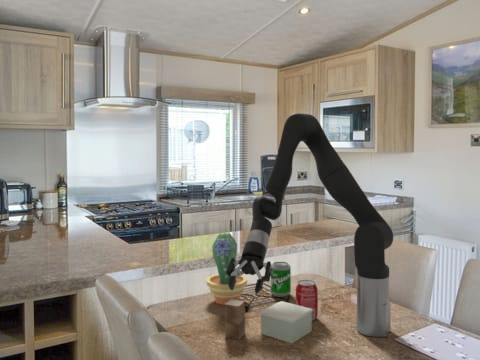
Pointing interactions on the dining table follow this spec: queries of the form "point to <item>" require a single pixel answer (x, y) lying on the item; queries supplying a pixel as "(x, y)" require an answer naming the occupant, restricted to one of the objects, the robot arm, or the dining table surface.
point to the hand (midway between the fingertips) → (243, 290)
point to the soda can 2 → (307, 296)
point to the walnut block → (234, 319)
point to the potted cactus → (224, 270)
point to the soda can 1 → (280, 279)
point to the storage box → (286, 321)
